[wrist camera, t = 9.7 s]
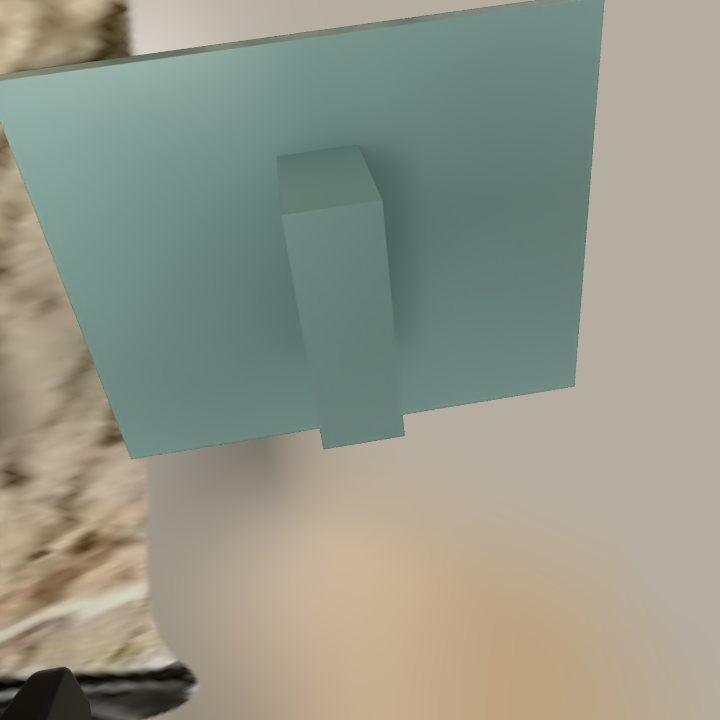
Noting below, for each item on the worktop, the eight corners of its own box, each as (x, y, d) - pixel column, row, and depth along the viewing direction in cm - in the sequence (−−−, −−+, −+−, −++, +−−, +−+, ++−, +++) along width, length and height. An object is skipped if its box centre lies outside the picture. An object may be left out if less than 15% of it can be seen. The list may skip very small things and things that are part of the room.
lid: (551, 353, 23) (632, 471, 18) (140, 420, 23) (107, 560, 18) (571, -11, 17) (698, 17, 12) (13, 67, 17) (-93, 129, 12)
